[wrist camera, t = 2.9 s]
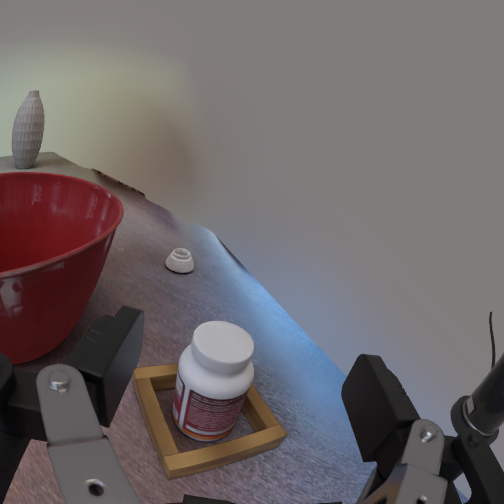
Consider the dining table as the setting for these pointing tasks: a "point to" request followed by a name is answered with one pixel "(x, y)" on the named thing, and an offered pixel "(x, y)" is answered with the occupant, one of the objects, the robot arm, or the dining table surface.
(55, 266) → the mixing bowl
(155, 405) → the wooden rectangular frame
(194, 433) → the pill bottle
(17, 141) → the vase
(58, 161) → the dining table surface
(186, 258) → the lidless jar
